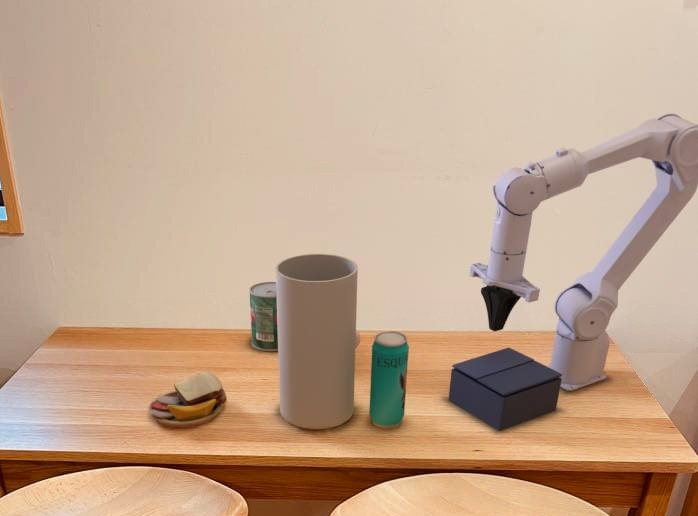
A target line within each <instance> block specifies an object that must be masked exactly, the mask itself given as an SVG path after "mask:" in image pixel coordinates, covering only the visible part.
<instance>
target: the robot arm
mask: <svg viewBox="0 0 698 516" xmlns="http://www.w3.org/2000/svg"><path fill="white" fill-rule="evenodd" d="M639 158H642V159H646V160H650V161H651V162H652V164H653V166H654V171H655V179H656V187H655V188H654V190H653V191H652V192H651V193H650V195H649V196H648V198H647V199H645V201H644V203H643V204H642V206H640V208H639V209H638V210H637V212H635V214H634V216H633V217H632V218H631V219H630V220H629V222H628V223H627V225H626V226H625V227H624V228H623V230H622V231H621V232H620V234H619V235H618V236H617V238H616V239H615V240H614V242H612V244H611V246H609V248H608V250H606V252H605V253H604V255H603V256H602V257H601V259H600V260H599V261H598V262H597V264H596V265H595V266H594V267H593V269H592V270H591V271H589V272H586V273H584V274H581V275H579V276H578V277H576V279H575V280H574V282H573V283H572V284H570V285H569V286H567V287H565V288H564V289H562V290H561V291H560V292H559V294H558V295H557V297H556V299H555V301H554V306H553V308H554V312H555V314H556V315H557V317H558V321H557V325H556V329H555V334H554V335H555V336H554V339H553V347H552V352H551V358H550V364H549V368H551V369H553V370H555V371H557V372H559V373H561V374H562V376H561V377H559V378H561V379H562V380H561V386H560V389H561V388H562V389H563V390H565V391H567V392H573V391H575V390H577V389H580V388H584V387H586V386H589V385H592V384H595V383H598V382H601V381H604V380H606V379H607V375H606V374H604V371H605V366H606V362H607V358H608V353H609V349H610V337H609V334H608V332H607V330H606V329H607V328H608V326H609V324H610V320H611V317H612V315H613V313H614V312H615V311H616V309H618V306H619V290H620V289H621V287H622V286H624V284H625V282H627V280H628V279H629V278H630V277H631V275H632V274H633V272H634V271H635V270H636V268H637V267H639V265H640V263H641V262H642V261H643V260H644V259H645V257H646V256H647V255H648V253H649V252H651V250H652V248H653V247H654V246H655V245H656V244H657V242H658V241H659V240H660V239H661V237H662V236H663V235H664V233H665V232H666V231H667V230H668V228H669V227H670V226H671V225H672V224H673V222H674V221H675V220H676V218H677V217H678V216H679V215H680V213H682V211H683V210H684V208H685V207H686V206H687V204H689V202H690V201H691V200H692V198H693V197H694V195H695V193H696V191H697V189H698V124H696V123H695V122H692V121H690V120H687V119H685V118H682V117H681V116H679V115H678V114H675V113H672V112H671V113H670V112H669V113H665V114H662V115H660V116H658V117H656V118H655V117H653V118H651V119H646V120H645V121H644V122H642V123H641V124H640V125H638V126H636V127H634V128H632V129H630V130H628V131H625V132H624V133H621V134H619V135H617V136H615V137H613V138H610V139H608V140H606V141H603V142H602V143H600V144H597V145H596V146H593V147H590V148H589V149H586V150H584V151H582V152H580V151H578V150H576V149H575V148H568V149H567V148H565V147H560V148H558V149H556V150H555V154H553V155H551V156H549V157H547V158H543V159H541V160H539V161H536V162H534V161H529V162H527V163H526V164H525V167H524V168H521V167H511V168H508V169H506V170H505V171H503V172H502V173H501V175H499V177H498V179H497V180H496V182H495V184H494V185H493V186H492V194H493V196H494V198H495V200H496V202H497V203H496V208H495V209H496V210H495V215H494V217H495V218H494V222H493V228H492V236H491V243H490V250H489V257H488V263H487V264H486V263H485V264H484V263H482V262H476V263H471V264H470V268H469V277H471V278H478V279H481V280H482V284H484V285H485V286H483V287H481V289H480V294H481V296H482V298H483V300H484V301H483V302H484V305H485V307H486V314H487V322H488V329H489V330H490V331H492V332H498V331H501V330H503V329H504V328H505V326H506V323H507V320H508V318H509V316H510V314H511V313H512V311H513V309H514V307H515V306H516V304H517V303H518V301H520V299H521V298H523V299H524V300H525V302H527V303H532V302H533V303H534V302H537V301H539V296H540V291H541V288H540V287H537V286H536V285H534V284H533V283H531V282H530V280H528V279H527V278H526V277H524V275H523V274H524V269H525V262H526V257H527V250H528V244H529V238H530V231H531V226H532V219H533V213H534V212H535V210H537V209H538V207H539V206H540V204H541V203H542V202H544V201H546V200H549V199H551V198H553V197H556V196H559V195H561V194H564V193H567V192H569V191H571V190H574V189H577V188H579V187H581V186H582V185H583V184H584V183H585V181H586V179H587V177H588V176H589V175H590V174H594V173H596V172H599V171H603V170H606V169H609V168H611V167H614V166H618V165H620V164H623V163H627V162H629V161H632V160H635V159H639Z"/></svg>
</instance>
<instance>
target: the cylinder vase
mask: <svg viewBox="0 0 698 516" xmlns="http://www.w3.org/2000/svg"><path fill="white" fill-rule="evenodd" d="M358 268H359V266H358V264H357V263H356V262H355V261H354V260H352V259H350V258H348V257H345V256H341V255H337V254H330V253H307V254H305V253H304V254H300V255H294V256H290V257H287V258H285V259H283V260H281V261H279V262H278V263H277V264H276V266H275V282H276V295H277V328H278V351H277V354H278V355H277V356H278V359H277V361H278V390H279V412H280V414H281V417H282V418H283V419H284V421H286V422H287V423H289V424H291V425H293V426H295V427H298V428H303V429H306V430H307V429H308V430H326V429H331V428H335V427H339V426H341V425H342V424H344V423H346V422H347V421H348V420H350V418H351V417H352V416H353V414H354V411H355V381H356V380H355V377H356V349H355V346H356V330H357V309H358V307H357V306H358V273H359V272H358V271H359V269H358Z"/></svg>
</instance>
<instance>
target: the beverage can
mask: <svg viewBox="0 0 698 516" xmlns="http://www.w3.org/2000/svg"><path fill="white" fill-rule="evenodd" d="M373 339H374V341H373V343H372V345H371V365H370V388H369V417H370V419H371V422H372V424H373V425H374V426H375V427H377V428H379V429H383V430H385V429H386V430H387V429H389V430H390V429H395V428H397V427H398V426H399V425H401V422H402V420H403V418H404V416H405V409H406V408H405V407H406V393H407V378H408V366H409V364H408V363H409V353H410V352H409V350H410V345H409V344H408V336H407V335H406V334H405V333H403V332H400V331H394V330H386V331H382V332H378V333H376V334H375V336H374V337H373Z"/></svg>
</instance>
